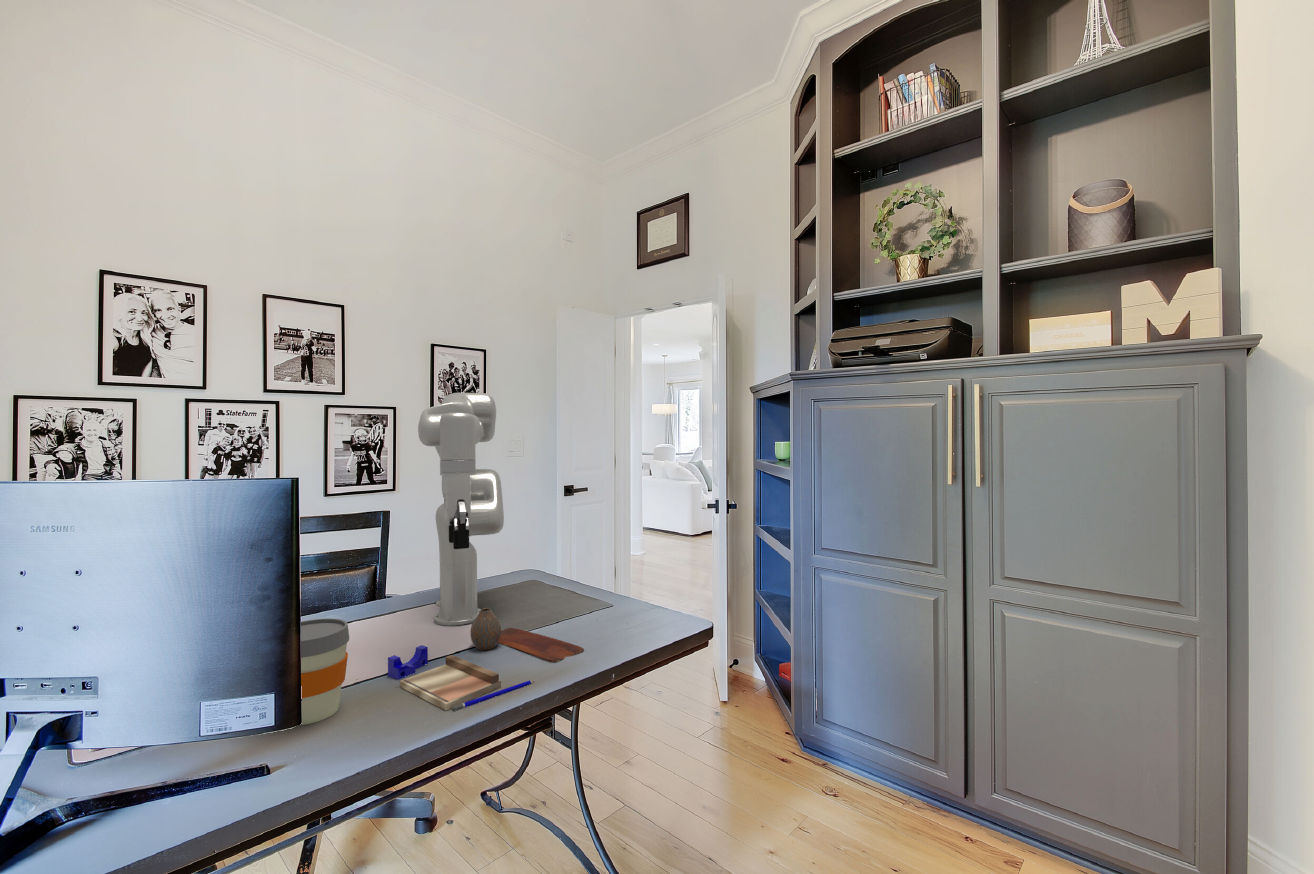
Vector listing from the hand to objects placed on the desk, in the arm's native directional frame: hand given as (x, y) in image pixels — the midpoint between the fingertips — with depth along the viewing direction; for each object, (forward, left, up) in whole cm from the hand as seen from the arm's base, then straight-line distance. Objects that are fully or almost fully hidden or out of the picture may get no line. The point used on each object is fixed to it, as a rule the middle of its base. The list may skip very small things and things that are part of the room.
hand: (458, 545), depth 126 cm
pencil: (+22, -7, -26) cm, 34 cm away
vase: (-1, +7, -25) cm, 26 cm away
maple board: (+11, -10, -25) cm, 29 cm away
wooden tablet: (+6, +15, -26) cm, 31 cm away
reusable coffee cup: (0, -31, -25) cm, 40 cm away
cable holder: (-2, -10, -26) cm, 28 cm away
